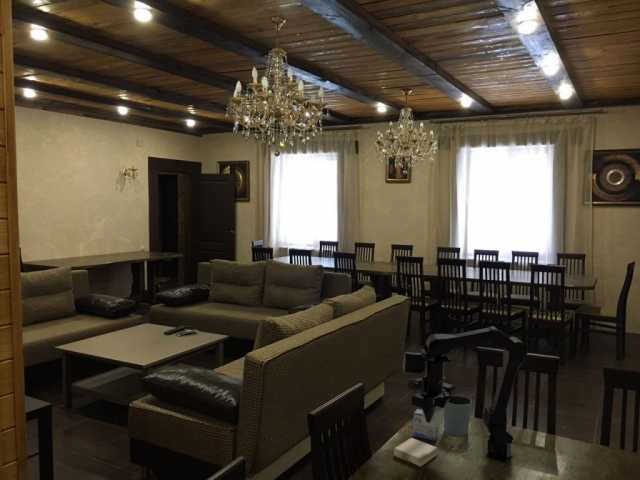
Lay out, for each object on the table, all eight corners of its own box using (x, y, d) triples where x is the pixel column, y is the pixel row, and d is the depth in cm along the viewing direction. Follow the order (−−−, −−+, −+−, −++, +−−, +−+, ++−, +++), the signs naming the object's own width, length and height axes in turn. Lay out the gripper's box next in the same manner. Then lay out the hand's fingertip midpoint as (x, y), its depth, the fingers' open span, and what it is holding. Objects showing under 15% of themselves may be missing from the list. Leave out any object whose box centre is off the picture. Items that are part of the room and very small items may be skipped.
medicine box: (412, 436, 188) (413, 412, 187) (416, 431, 192) (417, 408, 191) (434, 441, 185) (435, 417, 184) (438, 436, 189) (439, 412, 188)
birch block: (437, 456, 175) (437, 447, 175) (420, 467, 168) (420, 458, 168) (411, 446, 182) (411, 437, 182) (394, 456, 175) (394, 448, 174)
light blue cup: (436, 430, 193) (437, 398, 192) (452, 422, 200) (453, 391, 198) (460, 440, 185) (461, 407, 184) (476, 431, 192) (477, 399, 191)
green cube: (443, 423, 175) (443, 408, 175) (434, 427, 172) (435, 413, 171) (429, 418, 179) (430, 404, 178) (421, 422, 175) (422, 408, 175)
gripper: (428, 361, 186) (426, 404, 187) (397, 374, 172) (395, 420, 174) (457, 369, 178) (455, 414, 180) (427, 383, 165) (425, 432, 166)
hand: (432, 420), depth 175 cm, fingers closed on green cube, 5 cm apart
